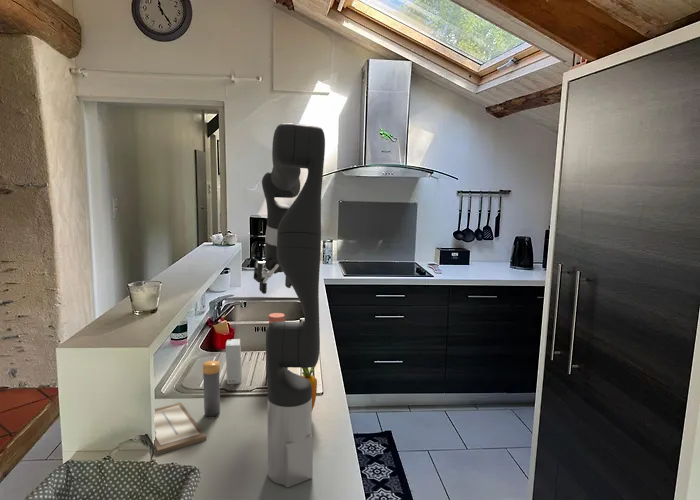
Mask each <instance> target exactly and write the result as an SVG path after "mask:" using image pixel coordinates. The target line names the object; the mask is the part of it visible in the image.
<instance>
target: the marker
mask: <svg viewBox="0 0 700 500" xmlns="http://www.w3.org/2000/svg"><path fill="white" fill-rule="evenodd" d="M220 365H221V363H220V361H217V360H208V361H204V362H203V364H202V373H203V375H202V376H203V379H202V380H203V412H204V417H205V416H206V417H205V418H207V417H208V418H209V419H214V418H217V417H219V416H220V415H219V414H220V413H221V390H220V389H221V388H220V386H221V384H220V381H221V380H220V368H221V367H220ZM218 415H219V416H218ZM216 416H217V417H216ZM213 417H214V418H213Z"/></svg>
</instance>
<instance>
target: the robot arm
mask: <svg viewBox="0 0 700 500" xmlns="http://www.w3.org/2000/svg"><path fill="white" fill-rule="evenodd" d="M325 137H326V136H325V132H324V130H323V128H322V127H320V126H316V125H310V124H300V123H292V122H291V123H290V122H289V123H288V122H286V123H285V122H283V123H280V124H278V125H277V127H276V128H275V130H274V133H273V137H272V147H271V148H272V152H271V153H272V154H271V156H272V158H271V159H272V166H273V167H272V169H271V171H267V172H266V173H265V174H264V175H263V177H262V180H261V185H262V186H261V187H262V190H263V194H264V198H265V203H266V209H267V210H266V211H267V215H266V216H267V217H266V230H265V242H264V243H265V245H264V256H265V258H264V260H263V261H259V260H254V266H253V267H254V269H253V279H254V280H255V282H257V283H259V287H258V288H259V292H261V294H263V295H265V294H267V291H268V290H267V289H268V288H267V286H268V285H267V284H268V280H269V278H271V277H272V276H273V274H274V275H276V274H278V273H283V274H284V276H285V279H284V281H285V283H284V284H285V287H286V288H287V289H291V288H293V290H294V292H295V294H296V296H297V298H298V300H299V302H300V306H301V308H302V312H303V318H304V320H303V321H285V322H272V323H271V324H269V325H268V327H267V329H266V330H267V333H266V332H265V360H266V359H267V378H266V380H267V476H268V479H270V480H271V481H272V482H273V483H276V484H279V485H283V486H284V487H285V488H291V487H293V486H296V485H298V484H300V483H304V482H306V481H308V480H310V479H313V478H314V477H313V473H314V472H313V471H314V469H313V467H314V465H313V463H314V436H313V435H312V418H313V417H312V415H313V413H312V412H313V410H312V385H311V383H310V381H309V380H307V379H306V378H304V377H302V375H300V374H299V375H298V374H297V373H294V372H293V371H291V370H289V369H287V368H286V367H288V368H296V369H297V368H301V369H302V368H308V369H309V368H310V369H311V367H314V366H315V365H316V366H317V363H318V361H319V359H320V358H319V357H320V348H321V341H320V340H321V339H320V338H321V336H320V334H321V333H320V331H321V330H320V306H319V305H320V304H319V303H320V301H319V299H320V298H319V296H320V295H319V293H320V291H319V289H320V285H319V284H320V268H321V251H322V249H321V248H322V247H321V246H322V190H323V188H322V187H323V186H322V185H323V178H324V176H323V175H324V165H325V154H326V153H325V152H326V151H325V150H326V138H325ZM301 169H306V170H307V176H306V180H305V182H304V185H303V186H302V188H301V181H300V180H301V179H300V176H301V171H302V170H301ZM295 197H296V198H295ZM276 198H281V199H282V198H283V199H286V198H287V199H291V198H292V199H294V198H295V200H294V201H293V202H292V203H291V204H290V205H288V204H285V203H282V202H278V201H277V200H276ZM316 366H315V367H316Z"/></svg>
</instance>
